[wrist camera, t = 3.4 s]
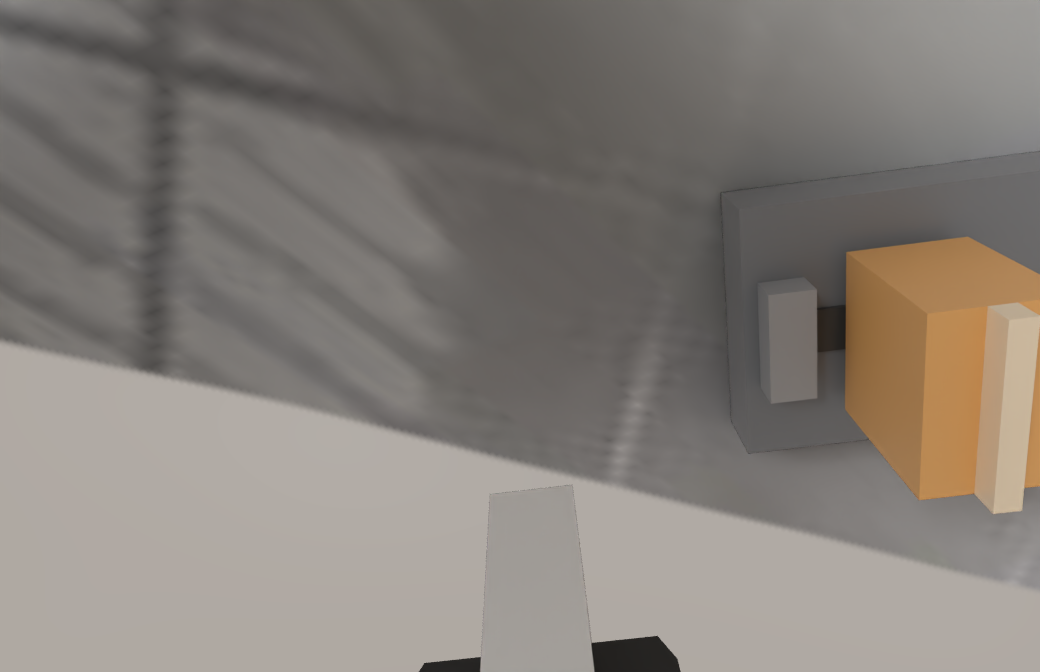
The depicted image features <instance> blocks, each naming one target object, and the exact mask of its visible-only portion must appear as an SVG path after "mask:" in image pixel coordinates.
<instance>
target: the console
mask: <svg viewBox="0 0 1040 672" xmlns="http://www.w3.org/2000/svg"><path fill="white" fill-rule="evenodd" d="M721 206H722V228H723V250H724V272H725V295H726V317H727V339H728V361H729V383H730V405H731V422H732V424H733V426H734V427H735V429H736V431H737V433H738V435H739V437H740V439H741V441H742V443H743V445H744V446H745V448H746V450H747V452H748V454H751V453H759V452H768V451H776V450H784V449H793V448H801V447H809V446H818V445H826V444H835V443H843V442H851V441H860V440H868V439H869V438H868V437H867V436H866V435H865V433H864V432H863V431H862V430H861V428H860V427H859V426H858V425H857V424H856V422H855V421H854V420H853V419H852V417H851V416H850V415H849V414H848V412H847V411H846V410H845V351H846V252H851V251H859V250H866V249H874V248H882V247H890V246H898V245H906V244H914V243H921V242H929V241H937V240H945V239H953V238H961V237H969V238H971V239H973V240H975V241H977V242H979V243H981V244H983V245H985V246H987V247H988V248H990V249H992V250H994V251H996V252H998V253H1000V254H1002V255H1004V256H1006V257H1007V258H1009V259H1011V260H1013V261H1015V262H1017V263H1019V264H1021V265H1023V266H1025V267H1026V268H1028V269H1030V270H1032V271H1034V272H1036V273H1038V274H1040V151H1037V152H1029V153H1022V154H1014V155H1006V156H998V157H991V158H983V159H975V160H968V161H960V162H952V163H945V164H937V165H929V166H922V167H914V168H906V169H899V170H891V171H883V172H876V173H868V174H860V175H853V176H845V177H837V178H829V179H822V180H814V181H806V182H799V183H791V184H783V185H776V186H768V187H760V188H753V189H745V190H737V191H730V192H722V193H721Z"/></svg>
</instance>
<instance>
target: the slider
mask: <svg viewBox="0 0 1040 672" xmlns="http://www.w3.org/2000/svg"><path fill="white" fill-rule="evenodd" d="M845 410H846V411H847V412H848V414H849V415H850V416H851V417H852V419H853V420H854V421H855V422H856V424H857V425H858V426H859V427H860V428H861V430H862V431H863V432H864V433H865V435H866V436H867V437H868V438H869V439H870V441H871V442H872V443H873V444H874V446H875V447H876V448H877V449H878V451H879V452H880V453H881V454H882V455H883V457H884V458H885V459H886V460H887V462H888V463H889V464H890V465H891V467H892V468H893V469H894V470H895V471H896V473H897V474H898V475H899V476H900V478H901V479H902V480H903V481H904V482H905V484H906V485H907V486H908V487H909V489H910V490H911V491H912V492H913V494H914V495H915V496H916V497H917V498H918V500H926V499H935V498H943V497H952V496H960V495H969V494H975V495H976V496H977V497H978V498H979V500H980V501H981V502H982V503H983V504H984V505H985V506H986V507H987V508H988V509H989V510H990V511H991V512H992V513H993V514H999V513H1007V512H1016V511H1022V505H1023V495H1024V488H1029V487H1037V486H1040V274H1038V273H1036V272H1034V271H1032V270H1030V269H1028V268H1026V267H1025V266H1023V265H1021V264H1019V263H1017V262H1015V261H1013V260H1011V259H1009V258H1007V257H1006V256H1004V255H1002V254H1000V253H998V252H996V251H994V250H992V249H990V248H988V247H987V246H985V245H983V244H981V243H979V242H977V241H975V240H973V239H971V238H969V237H961V238H953V239H945V240H937V241H929V242H921V243H914V244H906V245H898V246H890V247H882V248H874V249H866V250H859V251H851V252H846V351H845Z"/></svg>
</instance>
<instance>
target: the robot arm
mask: <svg viewBox="0 0 1040 672" xmlns="http://www.w3.org/2000/svg"><path fill="white" fill-rule="evenodd" d="M483 612H484V613H483V629H482V649H481V657H478V658H470V659H469V658H468V659H459V660H450V661H440V662H431V663H424V665H423V667H422V668H421V669H420V671H419V672H680V668H679V664H678V660H677V658H676V657H675V656H674V655H673V653H672V652H671V651H670V650H669V649H668V648H667V646H666V645H665V644H664V643H663V642H662V641H661V640H660V638H659V637H658V636H653V637H645V638H634V639H625V640H615V641H606V642H597V643H592V641H591V632H590V625H589V615H588V607H587V599H586V591H585V583H584V575H583V566H582V559H581V550H580V542H579V534H578V526H577V518H576V510H575V502H574V494H573V486H572V485H565V486H557V487H549V488H540V489H531V490H522V491H514V492H505V493H496V494H490V502H489V519H488V538H487V556H486V575H485V592H484V611H483Z"/></svg>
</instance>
